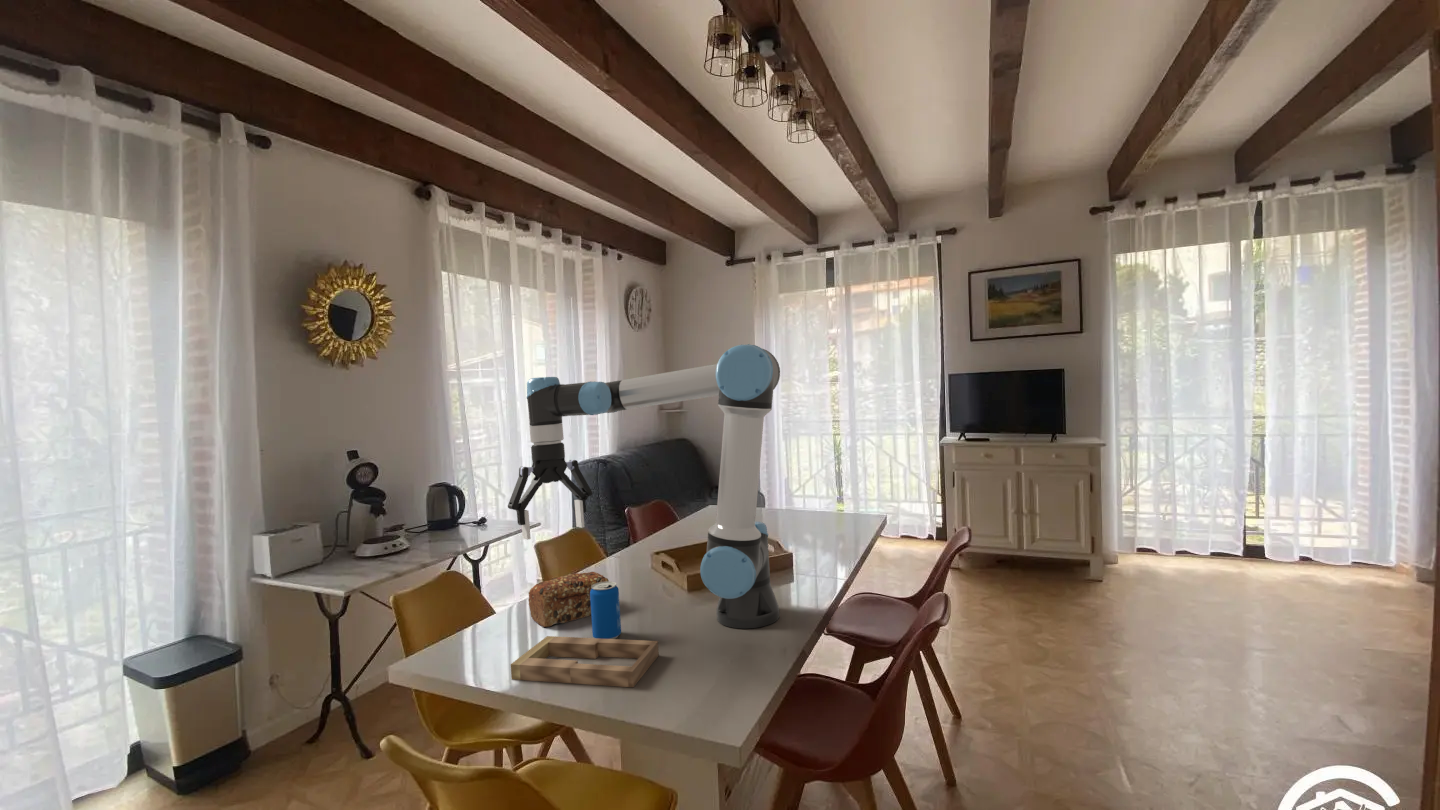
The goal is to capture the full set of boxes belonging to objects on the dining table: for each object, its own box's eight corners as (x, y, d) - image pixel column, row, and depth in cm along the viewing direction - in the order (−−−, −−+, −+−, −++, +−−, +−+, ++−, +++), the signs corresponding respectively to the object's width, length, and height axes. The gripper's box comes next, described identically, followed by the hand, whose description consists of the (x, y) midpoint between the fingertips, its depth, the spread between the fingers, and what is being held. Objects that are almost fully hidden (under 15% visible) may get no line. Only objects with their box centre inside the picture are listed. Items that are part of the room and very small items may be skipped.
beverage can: (615, 643, 135) (611, 589, 135) (588, 642, 137) (584, 589, 137) (625, 631, 142) (622, 580, 142) (599, 631, 143) (596, 580, 143)
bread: (544, 630, 146) (541, 589, 146) (528, 619, 154) (525, 580, 154) (613, 610, 157) (611, 571, 157) (595, 600, 166) (593, 564, 166)
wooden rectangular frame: (658, 655, 128) (658, 641, 128) (633, 687, 114) (632, 671, 114) (548, 649, 134) (547, 636, 134) (511, 679, 121) (510, 664, 120)
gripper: (587, 437, 154) (593, 520, 154) (488, 448, 137) (495, 541, 138) (602, 437, 148) (608, 524, 148) (501, 449, 132) (508, 546, 132)
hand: (554, 532), depth 143 cm, fingers open, 13 cm apart
